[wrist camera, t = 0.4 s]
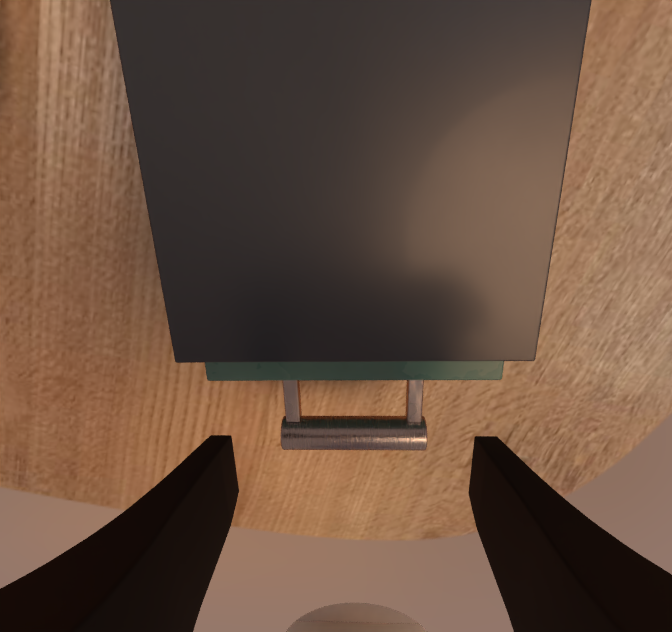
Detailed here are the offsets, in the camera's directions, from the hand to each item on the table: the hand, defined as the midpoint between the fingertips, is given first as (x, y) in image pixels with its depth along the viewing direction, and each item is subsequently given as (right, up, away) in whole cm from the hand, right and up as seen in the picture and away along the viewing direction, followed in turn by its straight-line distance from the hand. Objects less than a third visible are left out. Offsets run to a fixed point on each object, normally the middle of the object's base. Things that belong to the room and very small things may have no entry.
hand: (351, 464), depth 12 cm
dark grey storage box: (0, +12, +6) cm, 13 cm away
